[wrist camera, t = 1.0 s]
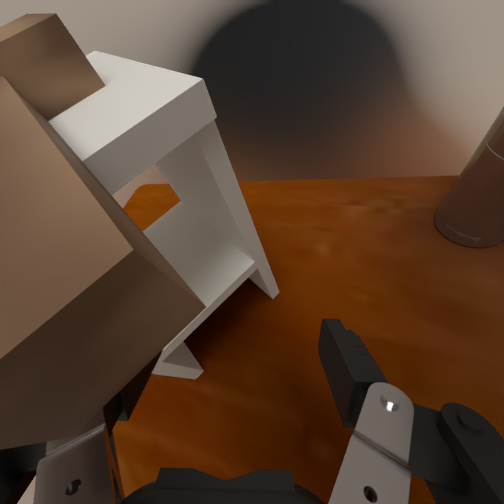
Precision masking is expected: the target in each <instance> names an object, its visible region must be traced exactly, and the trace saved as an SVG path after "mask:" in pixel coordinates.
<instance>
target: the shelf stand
mask: <svg viewBox="0 0 504 504" xmlns="http://www.w3.org/2000/svg"><path fill="white" fill-rule="evenodd" d="M86 58H87V59H88V61H89V62H90V64H91V65H92V66H93V68H94V69H95V71H96V72H97V74H98V75H99V77H100V78H101V80H102V81H103V82H104V84H105V85H106V86H105V87H103V88H101V89H100V90H98V91H96V92H95V93H93V94H92V95H90V96H88V97H87V98H85V99H84V100H82V101H80V102H79V103H77V104H75V105H74V106H72V107H71V108H69V109H67V110H66V111H64V112H62V113H61V114H59V115H58V116H56V117H54V118H53V119H51V120H49V121H48V122H49V123H50V124H51V125H52V127H53V128H54V129H55V130H56V131H57V132H58V134H59V135H60V136H61V137H62V138H63V140H64V141H65V142H66V143H67V144H68V145H69V147H70V148H71V149H72V150H73V151H74V152H75V154H76V155H77V156H78V157H79V158H80V159H81V161H82V162H83V163H84V164H85V165H86V166H87V168H88V169H89V170H90V171H91V172H92V173H93V175H94V176H95V177H96V178H97V179H98V180H99V182H100V183H101V184H102V185H103V186H104V188H105V189H106V190H107V191H108V192H109V193H110V195H113V194H114V193H115V192H117V191H118V190H119V189H121V188H122V187H123V186H125V185H126V184H127V183H129V182H130V181H131V180H133V179H134V178H135V177H137V176H138V175H140V174H141V173H142V172H144V171H145V170H146V169H148V168H149V167H150V166H152V165H153V164H154V163H155V164H156V166H157V167H158V169H159V170H160V172H161V173H162V174H163V176H164V177H165V179H166V180H167V181H168V183H169V184H170V186H171V187H172V189H173V190H174V191H175V193H176V194H177V196H178V197H179V198H180V200H181V201H180V202H179V203H178V204H176V205H175V206H174V207H173V208H171V209H170V210H169V211H168V212H166V213H165V214H164V215H163V216H161V217H160V218H159V219H158V220H156V221H155V222H154V223H153V224H152V225H150V226H149V227H148V228H147V229H145V230H144V231H143V233H144V234H145V236H146V237H147V238H148V239H149V240H150V241H151V243H152V244H153V245H154V246H155V247H156V248H157V250H158V251H159V252H160V253H161V254H162V255H163V257H164V258H165V259H166V260H167V261H168V262H169V264H170V265H171V266H172V267H173V268H174V270H175V271H176V272H177V273H178V274H179V275H180V277H181V278H182V279H183V280H184V281H185V282H186V284H187V285H188V286H189V287H190V288H191V289H192V291H193V292H194V293H195V294H196V295H197V296H198V298H199V299H200V300H201V301H202V302H203V303H204V305H205V306H206V308H205V309H204V310H203V311H202V312H201V313H200V314H199V315H198V316H197V317H196V318H195V319H194V320H193V321H192V322H191V323H190V324H189V325H187V326H186V327H185V328H184V329H183V330H182V331H181V332H180V333H179V334H178V335H177V336H176V337H175V338H174V339H173V340H172V341H171V342H170V343H169V344H168V345H167V346H166V347H165V348H164V349H163V351H162V353H161V356H160V358H159V360H158V362H157V364H156V366H155V368H154V370H153V372H152V374H158V375H165V376H173V377H181V378H188V379H197V378H198V377H199V376H200V375H201V374H202V373H203V372H204V370H203V369H202V367H201V366H200V364H199V363H198V362H197V360H196V359H195V357H194V356H193V354H192V353H191V351H190V350H189V349H188V347H187V346H186V344H185V343H184V340H185V339H186V338H187V337H188V336H189V335H190V334H191V333H192V332H193V331H194V330H195V329H196V328H197V327H198V326H199V325H200V324H201V323H202V322H203V321H204V320H205V319H206V318H207V317H208V316H209V315H210V314H211V313H212V312H213V311H214V310H215V309H216V308H217V307H218V306H219V305H221V304H222V303H223V302H224V301H225V300H226V299H227V298H228V297H229V296H230V295H231V294H232V293H233V292H234V291H235V290H236V289H237V288H238V287H239V286H240V285H241V284H242V283H243V282H244V281H245V280H246V279H247V278H250V279H251V280H252V281H253V282H254V283H255V284H256V285H257V286H258V287H260V288H261V289H262V290H263V291H264V292H265V293H266V294H267V295H268V296H269V297H271V298H272V299H274V298H275V297H276V296H277V295H278V294H279V293H280V292H279V290H278V287H277V284H276V282H275V279H274V277H273V274H272V271H271V269H270V266H269V263H268V261H267V258H266V256H265V253H264V250H263V248H262V245H261V242H260V240H259V237H258V234H257V232H256V229H255V227H254V224H253V221H252V219H251V216H250V213H249V211H248V208H247V206H246V203H245V200H244V198H243V195H242V192H241V190H240V187H239V184H238V182H237V179H236V177H235V174H234V171H233V169H232V166H231V163H230V161H229V158H228V156H227V153H226V151H225V148H224V145H223V143H222V140H221V137H220V134H219V132H218V129H217V127H216V124H215V121H214V119H215V118H216V117H217V116H216V113H215V110H214V107H213V105H212V102H211V99H210V96H209V94H208V91H207V88H206V86H205V83H204V80H203V79H202V78H198V77H194V76H190V75H187V74H183V73H179V72H175V71H171V70H167V69H164V68H160V67H155V66H152V65H148V64H144V63H140V62H137V61H132V60H129V59H125V58H121V57H117V56H113V55H110V54H106V53H102V52H98V51H94V52H92V53H90V54H88V55H87V56H86Z"/></svg>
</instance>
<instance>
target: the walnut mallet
mask: <svg viewBox="0 0 504 504" xmlns="http://www.w3.org/2000/svg"><path fill="white" fill-rule="evenodd" d="M105 86H106V85H105V84H104V82H103V81H102V80H101V78H100V77H99V75H98V74H97V72H96V71H95V69H94V68H93V66H92V65H91V64H90V62H89V61H88V59H87V58H86V56H85V55H84V54H83V52H82V50H81V49H80V48H79V46H78V45H77V43H76V42H75V40H74V39H73V37H72V36H71V35H70V33H69V32H68V30H67V29H66V27H65V26H64V25H63V23H62V21H61V20H60V18H59V17H58V16H57V14H26V15H24V16H22V17H20V18H18V19H16V20H14V21H12V22H10V23H8V24H6V25H4V26H2V27H0V450H1V449H7V448H13V447H19V446H25V445H31V444H37V443H43V442H48V441H54V440H60V439H66V438H71V437H72V436H73V435H74V434H76V433H77V432H78V431H79V430H80V429H81V428H82V427H83V426H84V425H85V424H86V423H87V422H88V421H89V420H90V419H91V418H92V417H93V416H94V415H95V414H96V413H97V412H98V411H99V410H100V409H101V408H102V407H103V406H105V405H106V404H107V403H108V402H109V401H110V400H111V399H112V398H113V397H114V396H115V395H116V394H117V393H118V392H119V391H120V390H121V389H122V388H123V387H124V386H125V385H126V384H127V383H128V382H129V381H130V380H131V379H133V378H134V377H135V376H136V375H137V374H138V373H139V372H140V371H141V370H142V369H143V368H144V367H145V366H146V365H147V364H148V363H149V362H150V361H151V360H152V359H153V358H154V357H155V356H156V355H157V354H158V353H159V352H161V351H162V350H163V349H164V348H165V347H166V346H167V345H168V344H169V343H170V342H171V341H172V340H173V339H174V338H175V337H176V336H177V335H178V334H179V333H180V332H181V331H182V330H183V329H184V328H185V327H186V326H187V325H189V324H190V323H191V322H192V321H193V320H194V319H195V318H196V317H197V316H198V315H199V314H200V313H201V312H202V311H203V310H204V309H205V308H206V306H205V305H204V303H203V302H202V301H201V300H200V299H199V298H198V296H197V295H196V294H195V293H194V292H193V291H192V289H191V288H190V287H189V286H188V285H187V284H186V282H185V281H184V280H183V279H182V278H181V277H180V275H179V274H178V273H177V272H176V271H175V270H174V268H173V267H172V266H171V265H170V264H169V262H168V261H167V260H166V259H165V258H164V257H163V255H162V254H161V253H160V252H159V251H158V250H157V248H156V247H155V246H154V245H153V244H152V243H151V241H150V240H149V239H148V238H147V237H146V236H145V234H144V233H143V232H142V231H141V230H140V229H139V227H138V226H137V225H136V224H135V223H134V221H133V220H132V219H131V218H130V217H129V216H128V214H127V213H126V212H125V211H124V210H123V209H122V207H121V206H120V205H119V204H118V203H117V202H116V201H115V199H114V198H113V197H112V196H111V195H110V193H109V192H108V191H107V190H106V189H105V188H104V186H103V185H102V184H101V183H100V182H99V180H98V179H97V178H96V177H95V176H94V175H93V173H92V172H91V171H90V170H89V169H88V168H87V166H86V165H85V164H84V163H83V162H82V161H81V159H80V158H79V157H78V156H77V155H76V154H75V152H74V151H73V150H72V149H71V148H70V147H69V145H68V144H67V143H66V142H65V141H64V140H63V138H62V137H61V136H60V135H59V134H58V132H57V131H56V130H55V129H54V128H53V127H52V125H51V124H50V123H49V122H48V121H49V120H51V119H53V118H54V117H56V116H58V115H59V114H61V113H62V112H64V111H66V110H67V109H69V108H71V107H72V106H74V105H75V104H77V103H79V102H80V101H82V100H84V99H85V98H87V97H88V96H90V95H92V94H93V93H95V92H96V91H98V90H100V89H101V88H103V87H105Z"/></svg>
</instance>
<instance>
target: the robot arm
mask: <svg viewBox="0 0 504 504" xmlns="http://www.w3.org/2000/svg"><path fill="white" fill-rule="evenodd" d="M434 221H435V225H436V227H437V229H438V230H439V231H440V232H441V233H442V234H443V235H444V236H445V237H446V238H448V239H450V240H451V241H453V242H455V243H458V244H461V245H464V246H468V247H477V248H481V247H490V246H494V245H496V244H499V243H501V242H502V241H503V240H504V107H503V109H502V110H501V112H500V113H499V115H498V117H497V118H496V120H495V121H494V123H493V124H492V126H491V128H490V129H489V131H488V132H487V134H486V135H485V137H484V139H483V140H482V142H481V143H480V145H479V146H478V148H477V149H476V151H475V153H474V154H473V156H472V157H471V159H470V160H469V162H468V164H467V165H466V167H465V168H464V170H463V171H462V173H461V174H460V176H459V177H458V179H457V180H456V182H455V184H454V185H453V187H452V188H451V190H450V191H449V193H448V194H447V196H446V197H445V199H444V200H443V202H442V204H441V205H440V207H439V208H438V210H437V211H436V214H435V218H434ZM162 351H163V350H162ZM162 351H161V352H159V353H158V354H157V355H156V356H155V357H154V358H153V359H152V360H151V361H150V362H149V363H148V364H147V365H146V366H145V367H144V368H143V369H142V370H141V371H140V372H139V373H138V374H137V375H136V376H135V377H134V378H133V379H131V380H130V381H129V382H128V383H127V384H126V385H125V386H124V387H123V388H122V389H121V390H120V391H119V392H118V393H117V394H116V395H115V396H114V397H113V398H112V399H111V400H110V401H109V402H108V403H107V404H106V405H105V406H103V407H102V408H101V409H100V410H99V411H98V412H97V413H96V414H95V415H94V416H93V417H92V418H91V419H90V420H89V421H88V422H87V423H86V424H85V425H84V426H83V427H82V428H81V429H80V430H79V431H78V432H77V433H76V434H74V435H73V436H72V437H71V438H66V439H60V440H54V441H48V442H43V443H37V444H31V445H25V446H19V447H13V448H7V449H1V450H0V504H17V503H18V501H19V500H20V498H21V496H22V495H23V494H24V492H25V490H26V489H27V487H28V486H29V484H30V483H31V481H32V480H33V478H34V476H35V475H36V483H35V494H34V503H33V504H324V502H322V501H321V500H320V499H319V498H318V497H317V496H316V495H314V494H313V493H311V492H310V491H309V490H307V489H305V488H303V487H301V486H300V485H297V484H294V479H293V471H280V470H258V471H255V472H252V473H249V474H245V475H242V476H239V477H236V478H232V479H229V480H222V479H220V478H217V477H214V476H212V475H209V474H206V473H204V472H201V471H198V470H196V469H193V468H160V471H159V474H158V477H157V480H156V481H154V482H151V483H149V484H147V485H145V486H143V487H141V488H139V489H138V490H136V491H134V492H133V493H131V494H130V495H129V496H127V497H126V498H125V495H124V491H123V487H122V482H121V477H120V471H119V465H118V459H117V453H116V447H115V442H114V436H113V431H112V429H113V427H114V425H115V423H116V422H117V420H118V421H128V420H129V418H130V416H131V414H132V412H133V410H134V408H135V406H136V404H137V402H138V400H139V398H140V396H141V394H142V392H143V390H144V388H145V386H146V384H147V382H148V380H149V378H150V376H151V374H152V372H153V370H154V368H155V366H156V364H157V362H158V360H159V358H160V356H161V353H162ZM319 356H320V359H321V362H322V365H323V368H324V371H325V374H326V377H327V380H328V382H329V385H330V388H331V391H332V394H333V397H334V400H335V403H336V406H337V409H338V411H339V414H340V417H341V420H342V423H343V426H344V427H354V429H355V430H354V431H353V433H352V436H351V439H350V442H349V445H348V448H347V451H346V454H345V456H344V459H343V462H342V465H341V468H340V471H339V474H338V477H337V480H336V483H335V486H334V489H333V492H332V494H331V497H330V500H329V503H328V504H408V499H409V489H410V479H411V474H413V475H415V476H418V477H420V478H423V479H424V480H425V482H426V484H427V486H428V488H429V490H430V492H431V494H432V496H433V498H434V500H435V502H436V504H504V439H503V438H502V436H501V435H500V434H499V433H498V432H497V431H496V430H495V428H494V427H493V426H492V425H491V424H490V423H489V422H488V421H487V420H486V419H485V418H484V417H482V416H481V415H480V414H478V413H477V412H475V411H474V410H472V409H470V408H468V407H466V406H463V405H461V404H457V403H446V404H444V405H443V406H442V408H441V411H440V412H439V411H436V410H433V409H430V408H426V407H423V406H420V405H417V404H414V403H412V402H411V401H410V399H409V398H408V397H407V396H406V395H405V394H404V393H403V392H402V391H401V390H399V389H398V388H396V387H394V386H392V385H390V384H388V382H387V380H386V379H385V377H384V375H383V374H382V372H381V371H380V369H379V367H378V366H377V364H376V363H375V361H374V359H373V358H372V356H370V353H369V351H368V350H367V348H366V347H365V345H364V343H363V342H362V340H361V338H360V337H359V336H357V335H356V334H355V333H354V332H353V331H352V330H345V328H344V326H343V324H342V323H341V321H340V320H339V319H323V320H322V324H321V331H320V338H319Z"/></svg>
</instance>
